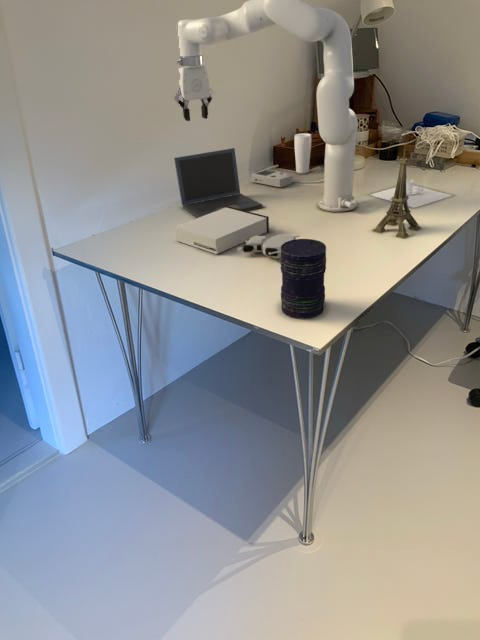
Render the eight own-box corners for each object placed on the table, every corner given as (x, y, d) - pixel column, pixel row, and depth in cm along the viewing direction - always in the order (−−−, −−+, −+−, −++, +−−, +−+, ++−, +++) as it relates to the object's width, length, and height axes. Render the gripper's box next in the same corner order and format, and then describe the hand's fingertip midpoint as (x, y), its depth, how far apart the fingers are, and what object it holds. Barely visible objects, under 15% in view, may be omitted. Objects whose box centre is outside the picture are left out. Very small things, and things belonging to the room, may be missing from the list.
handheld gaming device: (280, 188, 205) (280, 178, 203) (251, 182, 214) (250, 173, 212) (294, 183, 211) (294, 173, 209) (265, 178, 219) (265, 168, 218)
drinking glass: (311, 174, 221) (312, 136, 213) (294, 175, 221) (294, 137, 214) (309, 170, 227) (310, 132, 219) (293, 170, 227) (293, 133, 219)
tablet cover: (234, 148, 193) (233, 148, 193) (174, 157, 184) (173, 157, 184) (240, 193, 198) (239, 193, 199) (182, 205, 189) (181, 204, 190)
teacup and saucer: (426, 193, 192) (427, 181, 190) (411, 197, 188) (412, 186, 186) (406, 188, 198) (408, 176, 196) (391, 192, 194) (392, 181, 192)
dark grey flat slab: (262, 207, 186) (262, 204, 186) (201, 220, 178) (201, 217, 177) (240, 196, 199) (240, 193, 198) (182, 208, 190) (182, 204, 189)
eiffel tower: (404, 238, 156) (414, 150, 143) (372, 231, 162) (378, 145, 150) (421, 228, 162) (432, 142, 150) (389, 221, 169) (397, 138, 156)
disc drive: (269, 232, 166) (268, 216, 163) (217, 255, 152) (216, 238, 149) (228, 220, 176) (227, 205, 174) (176, 241, 163) (174, 225, 160)
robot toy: (235, 260, 150) (284, 264, 143) (233, 244, 148) (283, 248, 141) (256, 244, 159) (303, 248, 152) (254, 229, 157) (302, 233, 150)
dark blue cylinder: (307, 324, 116) (308, 260, 109) (272, 310, 122) (270, 249, 115) (333, 306, 123) (335, 244, 115) (298, 294, 129) (298, 235, 121)
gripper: (171, 64, 172) (177, 124, 181) (219, 60, 179) (223, 117, 188) (162, 63, 178) (169, 121, 187) (210, 59, 185) (213, 115, 194)
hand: (196, 118), depth 187 cm, fingers open, 5 cm apart
